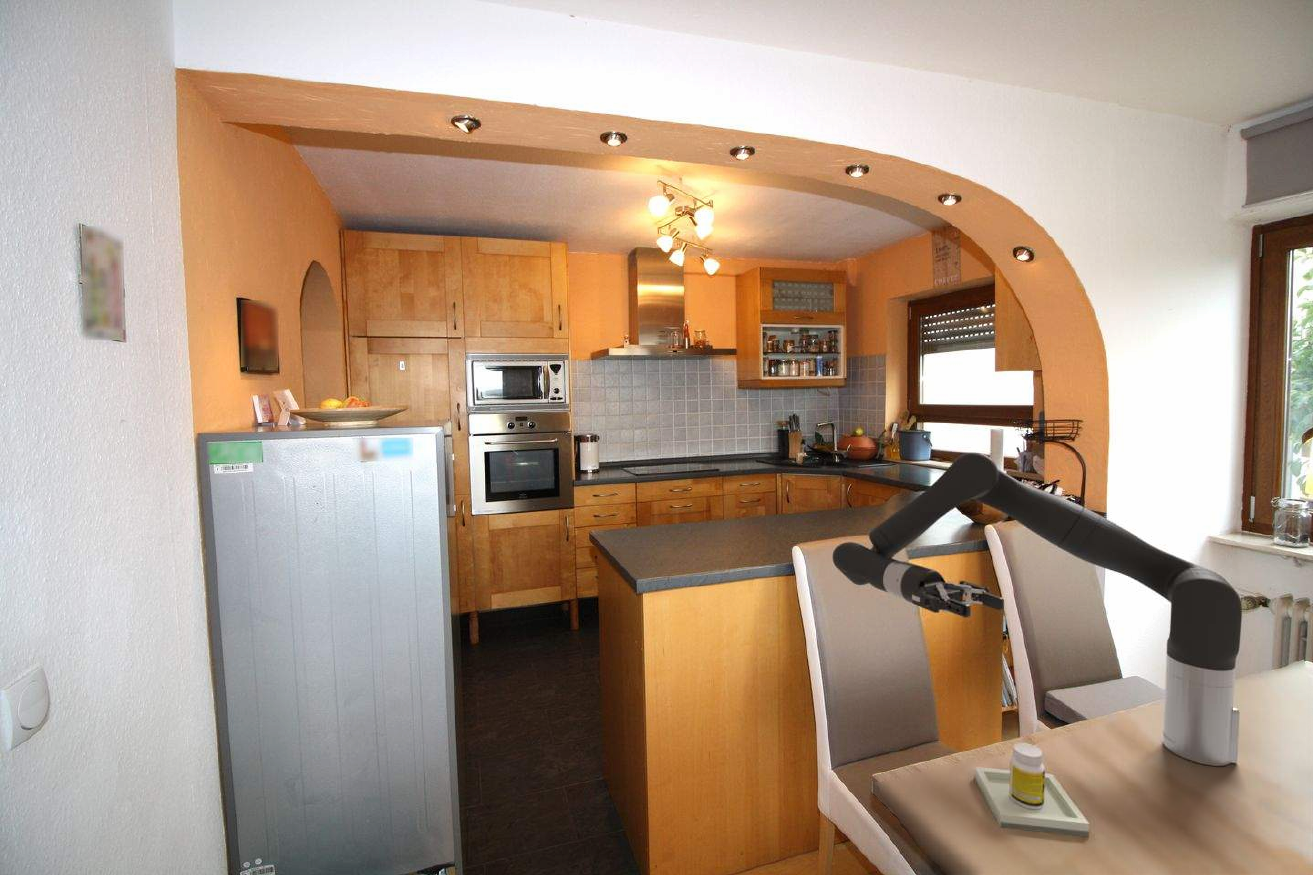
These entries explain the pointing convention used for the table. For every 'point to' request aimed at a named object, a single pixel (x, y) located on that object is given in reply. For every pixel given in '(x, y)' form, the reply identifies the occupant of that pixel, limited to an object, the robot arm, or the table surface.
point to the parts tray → (1050, 818)
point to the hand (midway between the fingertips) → (986, 608)
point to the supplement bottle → (1027, 776)
